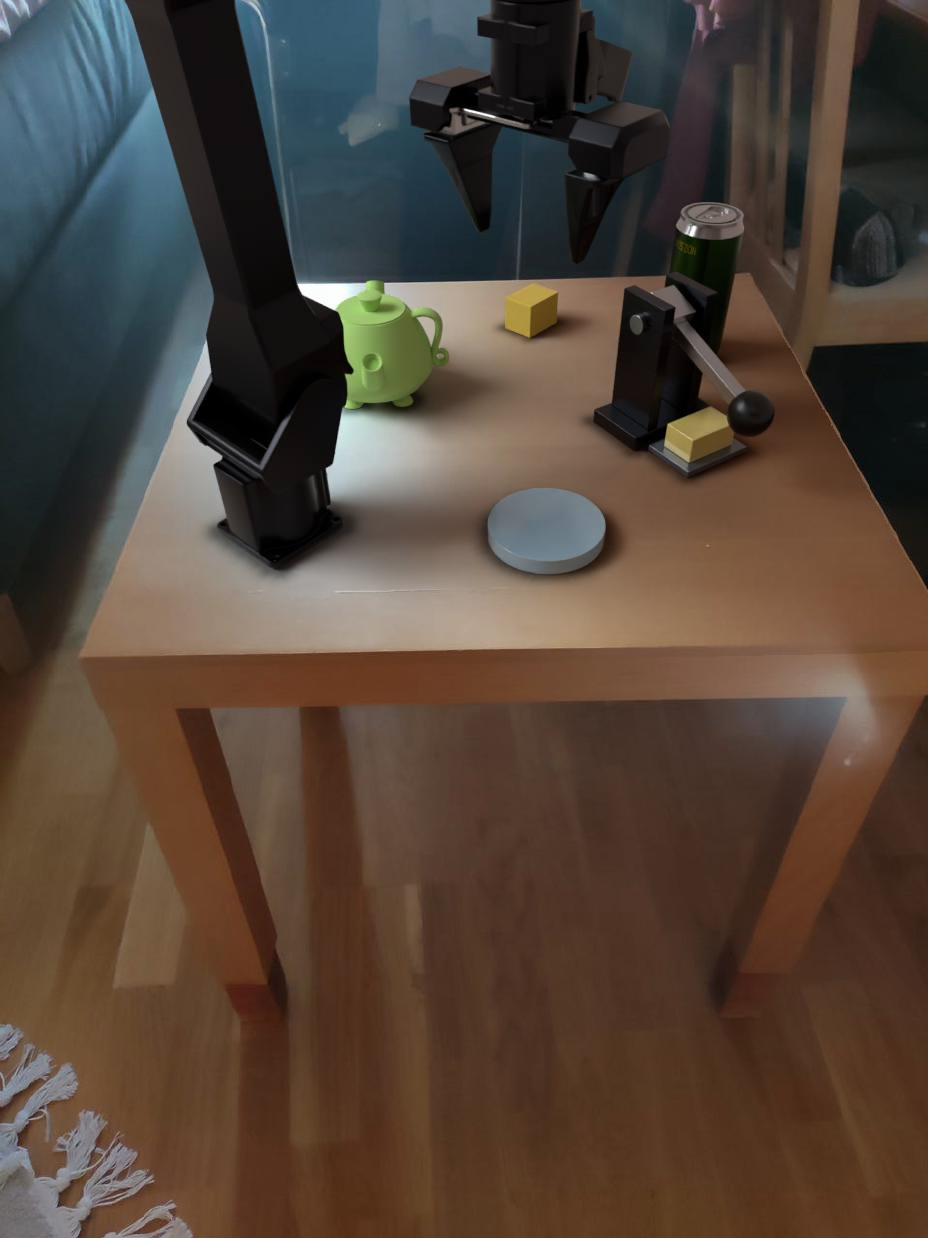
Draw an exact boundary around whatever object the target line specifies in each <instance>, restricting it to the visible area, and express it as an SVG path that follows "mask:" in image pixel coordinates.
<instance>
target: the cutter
mask: <svg viewBox="0 0 928 1238" xmlns="http://www.w3.org/2000/svg"><path fill="white" fill-rule="evenodd" d="M672 285H674V286H675V287H676V288H677V289H678V290H679V292H680V293H681V294H682V295H683V296H684V297H685V299H686V300H687V301H688V302H689V303H690V305H691V306H692V307H693V308H694V309H695V310H696V312H695V314H694V316H693V318H692V320H691V322H690V323H689V324H690V325H691V326H692V328H693V329H694V330H695V331H696V332H697V333H698V335H699V336H700V337H701V338H702V339H703V341H704V342H705V343H706V344H707V345H708V343H709V338H710V332H711V327H712V322H713V316H714V311H715V306H716V300H717V295H718V292H716V291H714V290H712V289H710V288H708V287H706V286H704V285H702V284H700V283H698V282H696V281H694V280H692V279H690V278H688V277H686V276H684V275H682V274H680V273H678V272H673V273H670V274H669V273H667V274H666V275H665V281H664V287H663V288H666V287H669V286H672ZM622 297H623V299H622V307H621V315H620V325H619V333H618V334H619V335H618V342H617V343H618V344H617V353H616V359H615V360H616V361H615V370H614V371H615V372H614V379H613V387H612V388H613V389H612V397H611V402H609V403H607V404H605V405H602V406H600V407H597V408H594V412H593V421H592V422H593V423H594V424H595V425H596V426H598V427H599V428H601V429H602V430H603V431H605V432H607V433H608V434H609V435H610V436H612V437H613V438H615V439H616V440H618V441H619V442H621V443H622V444H623V445H624V446H626V447H628V448H629V449H630V450H632V451H637V450H640V449H642V448H644V447H646V446H649V445H650V444H652V443H655V442H657V441H659V440H662V439H664V438H665V437H666V431H667V425H668V423H671V422H673V421H676V420H678V419H681V418H683V417H686V416H688V415H690V414H693V413H695V412H698V411H700V410H703V409H705V408H708V407H712V408H713V406H712V405H711V404H709V403H707V402H706V401H704V400H703V399H701V398H700V397H699V395H700V391H701V385H702V381H703V380H702V379H703V376H704V374H703V373H702V372H701V371H700V369H699V368H698V367H697V366H696V365H695V363H694V362H693V361H692V360H691V359H690V357H689V356H688V355H687V354H686V352H685V351H684V350H683V349H682V348H681V346H680V345H679V344H678V343H677V342H676V340H675V339H671V335H672V329H673V322H674V316H675V309H676V307H675V306H673V305H671V304H669V303H667V302H665V301H664V300H662V299H660V298H658V297H656V296H654V295H653V294H651V292H648V291H647V290H645V289H643V288H641V287H639V286H638V285H635V284H633V285H630V286H627V287H624V289H623V296H622Z"/></svg>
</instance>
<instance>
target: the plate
mask: <svg viewBox="0 0 928 1238" xmlns="http://www.w3.org/2000/svg"><path fill="white" fill-rule="evenodd" d="M606 527H607V525H606V519H605V516H604V514H603V513H602V511H601V510H600V508H599V507H598V506H597V505H596V504H595V503H594V502H592V500H591V499H590V500H589V499H588V498H587V497H585V496H583V495H582V494H578V493H576V492H573V491H570V490H566V489H561V488H556V487H532V488H526V489H522V490H519V491H516V492H513V493H511V494H509V495H507V496H505V497H504V498H502V499H500V500H499V501H498V502H497V503H496V504H495V505H494V506H493V508H492V509H491V511H490V512H489V515H488V517H487V540H488V544H489V547H490V549H491V551H492V552H493V553H494V554H495V556H496V557H497V558H498V559H500V560H501V561H502V562H503V563H505V564H506V565H508V566H510V567H512V568H514V569H516V570H520V571H522V572H526V573H529V574H535V575H536V574H537V575H561V574H567V573H571V572H575V571H577V570H579V569H581V568H583V567H586V566H587V565H589V564H590V563H592V562H593V561H594V560H595V559H596V558H597V557H598V556H599V555H600V554H601V551H602V549H603V548H604V543H605V537H606Z"/></svg>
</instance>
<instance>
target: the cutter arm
mask: <svg viewBox="0 0 928 1238" xmlns="http://www.w3.org/2000/svg"><path fill="white" fill-rule="evenodd" d="M650 293H651V294H653V295H654V296H656V297H658V298H660V299H662V300H664V301H665V302H667V303H669V304H671V305H673V306H675V307H676V309H675V316H674V322H673V329H672V335H671V339H675V340H676V342H677V343H678V344H679V345H680V346H681V348H682V349H683V350H684V351H685V352H686V354H687V355H688V356H689V357H690V359H691V360H692V361H693V362H694V363H695V365H696V366H697V367H698V368H699V369H700V371H701V372H702V373H703V376H704V377H705V378H706V379H707V380H708V382H709V383H710V384H711V385H712V386H713V388H714V389H715V390H716V392H717V393H718V394H719V395H720V396H721V397H722V399H723V400H724V401H725V402H726V403H727V405H728V406H727V410H726V416H727V421H728V424H729V426H730V428H731V429H732V430H733V431H734V434H736V435H738V436H740V437H743V438H754V437H758V436H761V435H762V434H764V433H765V432H766V431H768V430H769V428H771V426H772V424H773V423H774V419H775V416H776V410H775V405H774V403H773V401H772V399H771V398H770V397H769V396H768V395H767V394H766V393H764V392H762V391H759V390H755V389H751V390H750V389H749V390H746V389H745V388H744V387H743V386H742V385H741V383H740V382H739V381H738V379H736V377H735V376H734V375H733V374H732V372H730V370H729V369H728V368H727V366H726V365H725V364H724V363H723V362H722V361H721V359H720V358H719V357H718V356H717V355H715V354H714V353H713V351H712V350H711V349H710V348H709V347H708V345H707V344H706V343H705V342H704V341H703V339H702V338H701V337H700V336H699V335H698V333H697V332H696V331H695V330H694V329H693V328H692V326H691V325H690V324H689V323H690V322H691V320H692V318H693V316H694V314H695V312H696V310H695V309H694V308H693V307H692V306H691V305H690V303H689V302H688V301H687V300H686V299H685V297H684V296H683V295H682V294H681V293H680V292H679V290H678V289H677V288H676V287H675V286H674V285H672V286H669V287H666V288H664V287H663V288H660V289H656V290H653V291H651V292H650Z"/></svg>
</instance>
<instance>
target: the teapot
mask: <svg viewBox="0 0 928 1238" xmlns="http://www.w3.org/2000/svg"><path fill="white" fill-rule="evenodd" d="M385 289H386V288H385V282H384V281H383V280H377V279H376V280H375V279H373V280H367V281H366V282H365V290H362V291H360V292H358V293H357V295H354V296H351V297H348V298H346V299H344V300H342V301H341V302H340V303H339V304H338V305H337V306H336V307H335V309H334V310H335V311H337V312H338V313H339V315H340V318H341V321H342V324H343V327H344V346H345V353H346V356H347V359H348V362H349V363H350V365H351V366H352V368H353V369H354V373H353V374H351V375H350V374H345V375H346V379H347V389H348V396H347V402H346V405H345V406H344V407H343V408H346V409H349V410H356V409H360V408H361V407H362V406H363V405H364V404H366V403H367V404H379V403H389V402H392V404H393V405H394V406H396V407H399V408H405V407H408V406H411V405H412V404H413V403H414V400H413V397H412V396H411V394H413V393H415V392H416V391H417V390H418V389H419V388H420V387H422V385H423V384H424V383H425V382H426V381H427V379H429V376H430V375H431V374H432V370H433V367H435V368H443V367H445V366H446V365H448V363H450V357H451V356H450V355H451V354H450V352H449V351H448V350H447V348H445V347H440V343H441V341H442V337H443V331H444V330H443V329H444V324H443V319H442V316H441V315H440V314H439V313H438V312H437V311H436V310H435V309H432V308H430V307H426V306H420V307H416V308H413V309H411V308H410V307H409V306H408V305H407V304H406V303H405V302H404V301H403V300H402V299H400V298H398V297H396V296H394V295H391V294H386V290H385ZM421 317H425V318H428V319H431V320H432V321H433V322H434V326H435V327H434V328H435V329H434V336H433V339H432V344H431V341H430V338H429V337H428V334H427V332H426V330H425V329H424V326H423V325H422V323H421V322H420V320H419V319H418V318H421ZM438 355H442V357H441V358H439V357H438Z"/></svg>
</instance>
